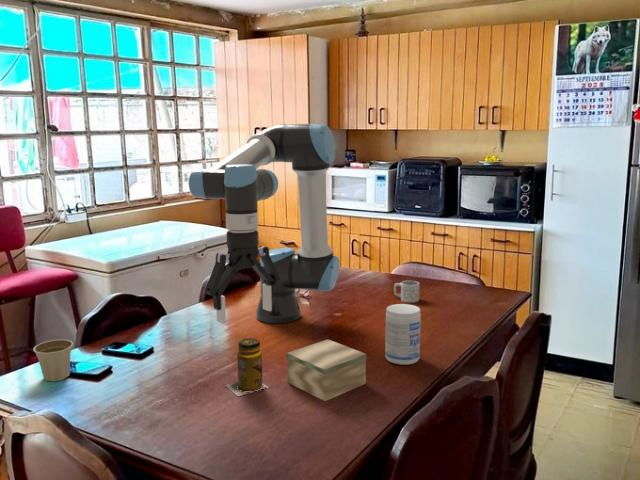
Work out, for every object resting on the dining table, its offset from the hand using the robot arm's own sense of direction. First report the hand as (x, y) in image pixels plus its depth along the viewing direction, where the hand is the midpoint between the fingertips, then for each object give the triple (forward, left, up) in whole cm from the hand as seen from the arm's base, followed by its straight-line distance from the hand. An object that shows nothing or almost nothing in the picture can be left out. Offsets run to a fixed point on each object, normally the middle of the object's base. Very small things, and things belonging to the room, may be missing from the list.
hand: (245, 315), depth 144 cm
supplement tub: (+15, +42, -19) cm, 48 cm away
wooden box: (+12, +16, -19) cm, 27 cm away
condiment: (0, 0, -19) cm, 19 cm away
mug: (-21, +87, -19) cm, 91 cm away
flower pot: (-39, -33, -19) cm, 55 cm away
